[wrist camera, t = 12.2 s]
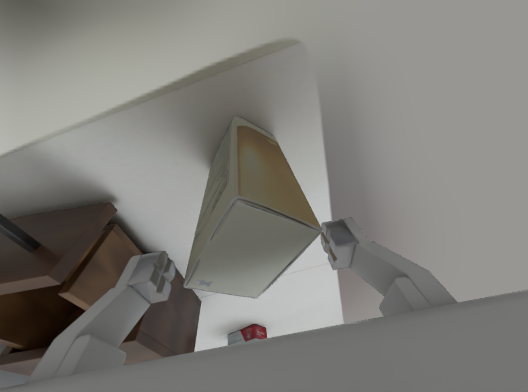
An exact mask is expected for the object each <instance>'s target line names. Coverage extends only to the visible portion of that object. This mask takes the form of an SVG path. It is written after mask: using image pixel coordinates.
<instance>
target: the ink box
mask: <svg viewBox="0 0 528 392" xmlns="http://www.w3.org/2000/svg"><path fill="white" fill-rule="evenodd" d="M266 338H267V333H266V328H263V327H261V326H258V325H255V324H254V325H251V326H249V327H247V328H244V329H242V330H239V331H237V332H234V333H232V334H229V335H228V346H229V345H234V344H240V343H245V342H250V341H256V340H261V339H266Z"/></svg>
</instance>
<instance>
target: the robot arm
mask: <svg viewBox="0 0 528 392" xmlns="http://www.w3.org/2000/svg"><path fill="white" fill-rule="evenodd" d="M321 228H322V231H323V232H322V233H321V244H322V247H323V249H324V251H325V252H326V253H328V260H329V262H330V264H331V267H332V269H333V270H336V269H342V268H349V267H350V269H351V270H353V271H354V272H355V273H356V274H358V275H359V276H360V277H361V278H362V279H364V280H365V281H366V282H367V283H369V284H370V285H371V286H372V287H374V288H375V289H376V290H377V291H379V292H380V293H381V294H382V295H383V296H385V297H384V299H383V301H382V302H381V304H380V307H379V309H380V311H381V312H382V314H383V316H384V317H379V318H373V319H368V320H363V321H357V322H352V323H347V324H341V325H336V326H330V327H325V328H320V329H314V330H309V331H304V332H298V333H293V334H288V335H282V336H277V337H272V338H266V339H261V340H256V341H250V342H245V343H240V344H234V345H229V346H224V347H218V348H213V349H208V350H202V351H197V352H192V353H186V354H181V355H176V356H170V357H165V358H160V359H154V360H149V361H144V362H138V363H133V364H128V365H123V364H124V362H125V359H126V356H127V355H126V352H124V351H122V350H120V349H118V347H119V346H120V344H121V343H122V342H123V340H124V339H125V338H126V336H127V335H128V334H129V333H130V331H131V330H132V329H133V327H134V326H135V325H136V323H137V322H138V321H139V319H140V318H141V317H142V315H143V314H144V313H145V311H146V310H147V309H148V308H149V306H150V304H152V303H156V302H161V301H166V300H168V297H169V294H170V290H171V285H170V282H171V281H172V280H173V279H174V276H175V265H174V262H173V261H172V260H170V259H168V254H167V253H166V252H165V251H162V252H155V253H148V254H143V255H136V256H133V257H132V258H130V260H129V262H128V264H127V266H126V268H125V269H124V271H123V273H122V275H121V277H120V279H119V281H118V282H117V284H116V286H115V288H111V289H110V290H109V291H108V292H107V293H106V294H105V295H103V296H102V297H101V298H100V299H99V300H98V301H97V302H96V303H94V304H93V305H92V306H91V307H90V308H89V309H88V310H87V311H85V312H84V313H83V314H82V315H81V316H80V317H79V318H78V319H77V320H75V321H74V322H73V323H72V324H71V325H70V326H69V327H68V328H66V329H65V330H64V331H63V332H62V333H61V334H60V335H59V336H57V337H56V338H55V339H54V340H53V342H52V343H51V345H50V346H49V348H48V350H47V351H46V353H45V354H44V356H43V357H42V359H41V360H40V362H39V363H38V365H37V366H36V368H35V369H34V371H33V373H32V374H31V376H30V377H29V379H28V380H27V382H26V383H25V384H21V385H16V386H10V387H5V388H0V392H528V290H523V291H517V292H512V293H507V294H501V295H496V296H491V297H485V298H480V299H474V300H469V301H464V302H457V301H456V300H455V299H454V298H453V297H452V296H451V295H450V293H449V292H448V291H447V290H446V289H445V288H444V287H443V286H442V285H441V284H440V282H439V281H438V280H437V279H436V278H435V277H434V276H433V275H432V274H431V272H430V271H428V270H426V269H424V268H423V267H421V266H419V265H417V264H415V263H413V262H411V261H410V260H408V259H406V258H404V257H402V256H400V255H398V254H396V253H395V252H392V251H391V250H389V249H387V248H385V247H383V246H381V245H379V244H378V243H376V242H374V241H371V242H370V241H369V239H368V238H367V236H366V235H365V234H364V232H363V231H362V230H361V228H360V227H359V226H358V224H357V223H356V222H355V220H354V219H353V218H351V217H350V218H345V219H339V220H334V221H328V222H323V223H322V224H321Z"/></svg>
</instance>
